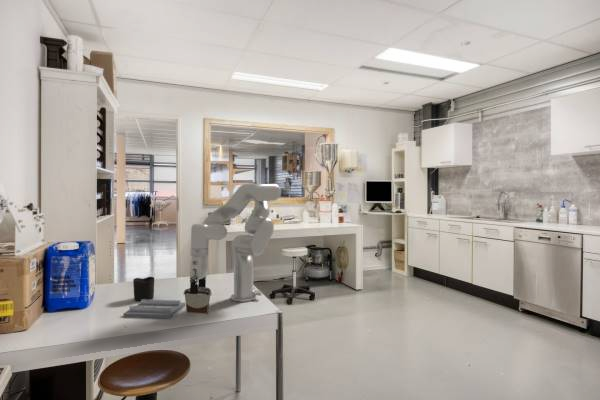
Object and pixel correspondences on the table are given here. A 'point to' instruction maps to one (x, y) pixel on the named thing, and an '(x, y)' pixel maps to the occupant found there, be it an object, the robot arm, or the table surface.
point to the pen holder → (143, 288)
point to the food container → (197, 300)
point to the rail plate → (155, 308)
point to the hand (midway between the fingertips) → (198, 290)
